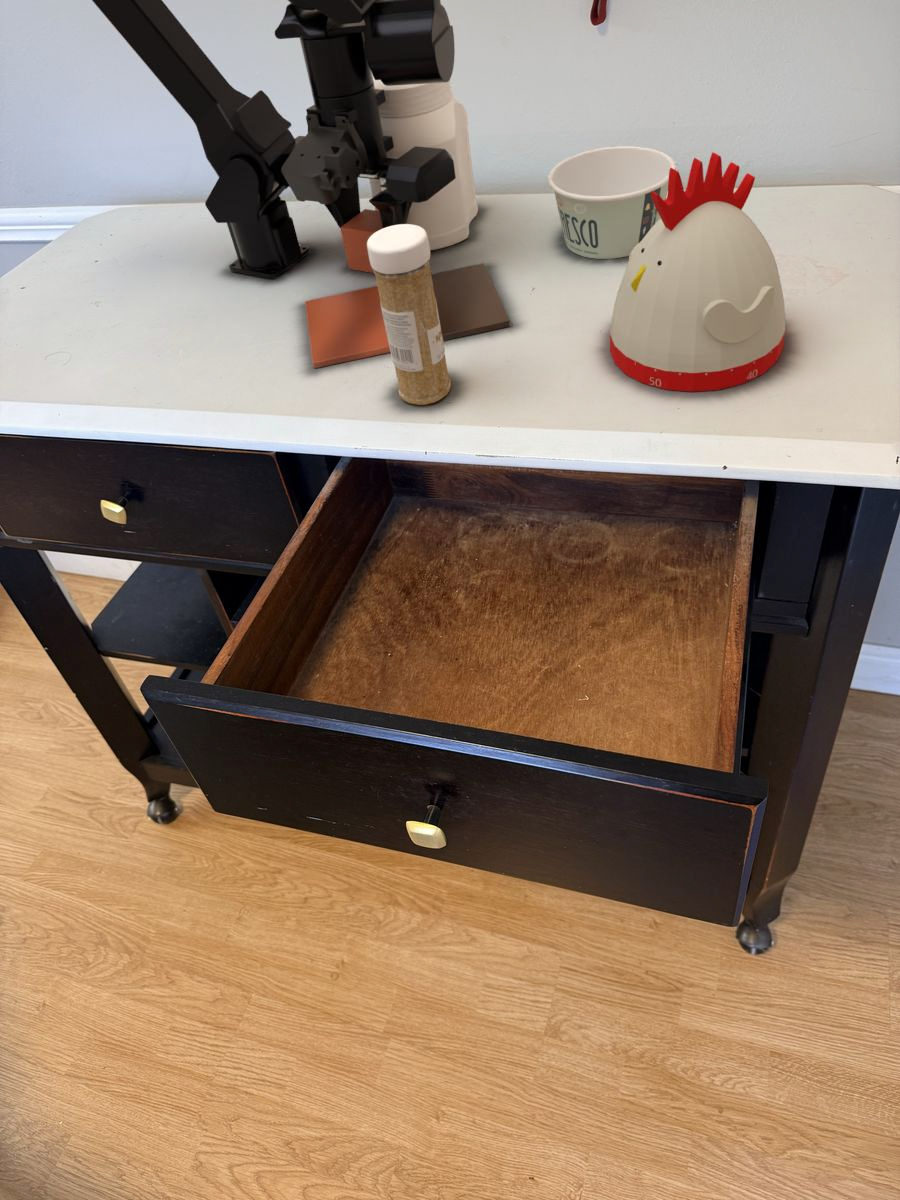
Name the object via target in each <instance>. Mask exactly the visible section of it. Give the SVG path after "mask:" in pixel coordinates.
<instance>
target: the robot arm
mask: <svg viewBox="0 0 900 1200" xmlns="http://www.w3.org/2000/svg"><path fill="white" fill-rule="evenodd" d="M91 1H92V3H93V4H94V5H95V6H96V7H97V9H98V10H99V11H100V12H101V14H103V15H104V17H105V18H106V19H107V20H108V22H110V24H111V25H112V26H113V27H114V28H115V30H116V31H117V32H118V34H119V35H121V37H122V38H123V39H124V41H125V42H126V43H127V44H128V45H129V47H130V48H131V49H132V50H133V51H134V53H135V54H136V55H137V56H138V57H139V59H141V61H142V62H143V63H144V64H145V66H146V67H147V68H148V69H149V70H150V72H151V73H152V74H153V75H154V77H156V79H157V80H158V81H159V82H160V84H162V86H163V87H164V88H165V89H166V90H167V92H168V93H169V94H170V95H171V96H172V97H173V99H174V100H175V101H176V103H177V104H178V105H179V106H180V107H181V109H182V110H184V112H185V113H186V114H187V115H188V116H189V118H190V119H191V121H192V122H193V124H194V125H195V127H196V130H197V132H198V136H199V139H200V143H201V145H202V148H203V152H204V155H205V158H206V160H207V162H208V163H209V164H210V166H211V167H212V169H213V170H214V172H215V174H216V175H217V177H218V179H217V180H216V182H215V184H214V186H213V188H212V189H211V191H210V193H209V194H208V196H207V198H206V201H205V203H204V204H205V205H204V206H205V208H206V209H207V210H208V212H209V213H210V215H211V216H212V218H213V220H214V221H215V222H216V223H217V224H226V226H227V229H228V232H229V235H230V238H231V241H232V244H233V248H234V250H235V253H236V257H237V259H236V260H235V261H233V262H231V263H230V264H229V265H228V268H229V271H230V272H234V273H240V274H244V275H245V274H246V275H249V276H256V277H261V278H266V279H274V278H277V277H278V276H280V275H281V274H282V273H283V272H285V271H286V270H288V269H289V268H290V267H292V266H293V265H294V264H296V263H297V262H299V261H300V260H301V259H302V258H304V257H305V256H307V255H308V254H309V253H310V252H311V250H310V247H308V246H306V245H300V243H299V238H298V234H297V231H296V227H295V224H294V220H293V217H292V216H290V213H289V208H288V205H287V201H286V200H284V199H282V198H281V196H280V195H281V194H282V193H283V192H284V191H285V190H287V189H288V188H290V189H291V192H292V193H293V195H294V197H295V198H296V200H297V201H298V202H307V201H308V202H314V203H315V202H316V203H319V204H320V205H324V206H325V208H326V209H327V211H328V212H329V213H330V214H331V217H332V218H333V219H334V221H335V223H336V224H337V226H338V228H339V229H340V227H342V226H343V225H344V224H346V223H347V222H348V221H350V220H351V219H352V218H354V217H355V216H356V215H358V214H359V213H361V212H362V211H361V202H360V201H361V200H360V190H359V178H360V179H368V180H369V179H377V180H380V184H381V186H380V189H381V192H379V193H378V194H377V195H375V196H374V197H373V196H372V197H371V198H370V199H368V202H369V203H370V204H371V205H372V206H374V208H375V207H376V208H377V209H378V210H379V212H380V216H381V221H382V226H383V228H386V227H389V226H393V225H399V224H406V223H407V218H408V215H409V211H410V208H411V205H412V202H416V203H420V202H424V201H427V200H429V199H430V198H431V197H432V196H434V195H435V194H436V193H438V192H439V191H440V190H441V189H443V188H444V187H445V186H447V185H448V184H449V183H450V182H452V181H453V180H454V179H455V178H456V176H455V169H454V161H453V158H452V156H451V155H450V154H449V153H448V152H447V151H446V150H445V149H439V148H428V147H417V146H415V147H413V148H412V149H411V150H409V151H408V152H406V153H405V154H404V155H402V156H401V157H399V158H398V159H393V158H386V157H387V156H386V153H387V152H388V151H390V150H391V149H392V148H394V145H393V139H392V137H391V136H383V131H382V126H381V120H380V114H379V109H378V106H380V105H381V104H383V103H384V102H386V99H385V93H384V90H381V89H375V86H374V81H373V77H374V79H375V80H381V82H382V83H383V84H384V85H386V86H394V85H410V84H427V83H444V82H448V81H449V80H450V81H451V78H452V75H453V72H454V67H455V52H456V50H455V33H454V28H453V24H452V25H451V22H450V18H449V15H448V12H447V10H446V8H445V6H443V4H441V0H287V1H288V2H289V4H287V5H286V7H285V12H284V16H283V17H282V20H281V21H280V23H279V25H278V26H277V27H276V28H275V30H274V36H275V38H276V39H278V40H285V39H287V40H289V39H299V42H300V47H301V50H302V55H303V59H304V64H305V68H306V73H307V77H308V82H309V86H310V91H311V95H312V100H313V105H311V106H309V107H308V108H306V109H305V110H306V116H305V121H306V124H307V133H306V135H298V136H296V137H294V135H293V133H292V132H291V131H290V130H289V129H290V128H291V127H292V123H291V122H290V121H289V120H287V119H286V118H285V117H283V116H282V115H281V113H279V111H278V110H277V109H276V107H275V106H274V104H273V102H272V100H271V99H270V97H269V96H268V95H267V94H266V93H265V92H264V91H263V90H262V89H261V90H258V91H257V92H256V93H255V94H253V95H252V96H251V97H250V96H248V95H246V94H244V93H243V92H241V91H238V90H237V89H235V88H234V87H233V85H231V84H230V83H229V81H228V80H227V79H226V78H225V77H224V76H223V74H222V73H221V72H220V71H219V69H218V68H217V67H216V66H215V64H214V63H213V62H212V60H211V59H210V58H209V57H208V55H206V53H205V52H204V51H203V50H202V48H201V47H200V46H199V45H198V43H197V42H196V40H195V39H194V38H193V37H192V36H191V34H190V33H189V32H188V31H187V29H186V28H185V27H184V25H183V24H182V23H181V22H180V21H179V19H178V18H177V17H176V15H174V13H173V12H172V11H171V10H170V8H169V7H168V6H167V5H166V4H165V2H164V1H163V0H91ZM372 74H373V75H372Z"/></svg>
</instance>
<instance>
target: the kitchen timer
mask: <svg viewBox="0 0 900 1200" xmlns="http://www.w3.org/2000/svg"><path fill="white" fill-rule="evenodd" d="M739 173H740V165H738V164H736V163H734V162H732V161H731V162H730V163H729V164H728V165H727V168H726V169H725V172H724V173H723V162H722V156H721V155H720V154H718V153H715V152H713V151H712V152H711V154H710V157H709V161H708V165H707V168H706V173H705V177H704V165H703V161H701V160H700V159H698V158H696V157H694V158H693V159H692V163H691V167H690V169H689V175H688V180H687V185H686V188H685V190H684V185H683V183H682V182H683V181H682V177H681V174H680V172H679V171H678V170H677V169H676V170H675V169H673V168H670V171H669V180H668V191H667V196H666V199H665V200H663V199H662V198H661V197H660V196H659V195H658V194H656V193H655V192H653V191H651V196H652V199H653V202H654V205H655V207H656V209H657V211H658V213H659V215H660V217H661V218H660V219H659V220H658V221H657V222H656V223H655V224H654V226H653V227H652V228H651V229H650V230H649V232H648V233H647V234H646V235H645V237H644V238H643V239H642V241H641V242H640V243H638V244H637V245H636V246H635V247H634V249H633V250H632V252H631V253H630V256H628V262H627V265H626V267H625V269H624V272H623V276H622V279H621V281H620V284H619V288H618V291H617V294H616V298H615V301H614V304H613V310H612V316H611V321H610V322H611V323H610V328H609V352H610V355H611V357H612V360H613V362H614V364H615V365H616V366H617V367H618V369H620V370H621V371H622V373H624V374H625V375H626V376H628V377H630V378H631V379H634V380H636V381H638V382H640V383H642V384H644V385H647V386H651V387H655V388H659V389H663V390H667V391H679V392H692V393H693V392H707V391H719V390H722V389H726V388H727V389H728V388H732V387H735V386H739V385H743V384H745V383H747V382H749V381H752V380H753V379H756V378H758V377H760V376H763V374H765V373H766V372H767V371H768V370H770V369H771V368H772V367H773V366H774V365H775V364H777V362H778V360H779V358H780V356H781V354H782V352H783V350H784V342H785V337H786V309H785V299H784V293H783V286H782V282H781V278H780V277H781V276H780V273H779V269H778V268H779V267H778V264H777V261H776V258H775V255H774V253H773V251H772V248H771V246H770V245H769V243H768V240H767V239H766V238H765V236H764V235H763V233H762V231H761V230H760V229H759V227H758V226H757V225H756V223H755V222H754V221H753V219H752V218H751V217H750V216H749V215H748V214H746V212H745V211H743V208H744V206H745V205H746V202H747V201H748V198H749V197H750V194H751V191H752V189H753V186H754V183H755V180H756V176H754V175H752V174H750V173H749V172H747V173H746V174H745V175H744V176H743V179H742V180H741V182H740V184H739V186H738V187H737V189H736V190H735V187H736V183H737V180H738V176H739Z"/></svg>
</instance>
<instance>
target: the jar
mask: <svg viewBox="0 0 900 1200" xmlns="http://www.w3.org/2000/svg"><path fill="white" fill-rule="evenodd" d="M372 75H373V74H372ZM373 81H374V86H375V89H381V90H384V93H385V99H386V102H384V103H383V104H381V105H380V106H378V109H379V114H380V120H381V126H382V131H383V136H391V137H392V139H393V145H394V148H392V149H391V150H390V151H388V152H387V153H386V156H387V157H386V158H393V159H398V158H399V157H401V156H402V155H404V154H405V153H406V152H408V151H409V150H411V149H412V148H413V147H415V146H417V147H428V148H439V149H445V150H446V151H447V152H448V153H449V154H450V155H451V156H452V158H453V161H454V169H455V176H456V178H455V179H454V180H453V181H452V182H450V183H449V184H448V185H447V186H445V187H444V188H443V189H441V190H440V191H439V192H438V193H436V194H435V195H434V196H432V197H431V198H430V199H429V200H427V201H424V202H420V203H416V202H412V205H411V208H410V211H409V215H408V218H407V223H406V224H412V225H417V226H420V227H422V228H423V229H424V230H425V231H426V233H427V236H428V241H429V247H430V251H434V250H439V249H444V248H447V247H451V246H453V245H456V244H459V243H461V242H463V241H465V240H466V239H468V238H469V235H470V224H471V222H472V221H473V220H474V218H475V217H476V216H477V215H478V212H479V206H478V199H477V196H476V187H475V179H474V170H473V161H472V151H471V143H470V135H469V127H468V125H469V121H468V113H467V110H466V108H465V106H464V105H463V104H462V103H461V102H460V100H458V99H457V98H456V97H455V96H454V94H453V92H452V86H451V79H450V80H449V81H448V82H444V83H427V84H410V85H394V86H386V85H384V84H383V83H382V82H381V80H375V79H374V77H373ZM368 180H369V185H370V190H371V195H372V198H373V197H374V196H375V195H377V194H378V193H379V192H381V189H380V186H381V184H380V180H377V179H368ZM374 210H376V211H379V210H378V209H377V208H376V207H375V206H374Z"/></svg>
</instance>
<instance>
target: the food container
mask: <svg viewBox="0 0 900 1200" xmlns="http://www.w3.org/2000/svg"><path fill="white" fill-rule="evenodd" d="M670 168H673V169H675V170H676V171H677V167H676V163H675V161H674V159H673V158H672V157H671V156H670V155H668V154H666V153H665V152H662V151H660V150H658V149H654V148H650V147H644V146H633V145H617V146H607V147H606V146H605V147H600V148H599V147H598V148H595V149H590V150H585V151H582V152H579V153H577V154H574V155H571V156H568V157H567V158H564V159H563V160H561V161H560V162H558V163H557V164H556V165H554V166H553V167H552V169H551V170H550V171H549V173H548V175H547V176H548V177H547V183H548V186H549V187H550V188H551V190H553V192H554V193H553V194H554V197H555V202H556V206H557V211H558V215H559V221H560V224H561V228H562V232H563V233H562V234H563V238H564V242H565V245H566V247H567V248H568V249H569V251H571V252H572V253H574V254H575V255H577V256H581V257H584V258H590V259H597V260H610V259H621V258H625V257H629V256H630V253H631V252H632V250H633V249H634V247H635V246H636V245H637V244H638V243H640V242H641V241H642V239H643V238H644V237H645V235H646V234H647V233H648V232H649V230H650V229H651V228H652V227H653V226H654V224H655V223H656V222H657V221H658V220H659V219H660V218H661V217H660V215H659V213H658V211H657V209H656V207H655V205H654V202H653V199H652V196H651V191H653V192H655V193H656V194H658V195H659V196H660V197H661V198H662V199H663V200H665V199H667V195H668V180H669V171H670Z"/></svg>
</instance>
